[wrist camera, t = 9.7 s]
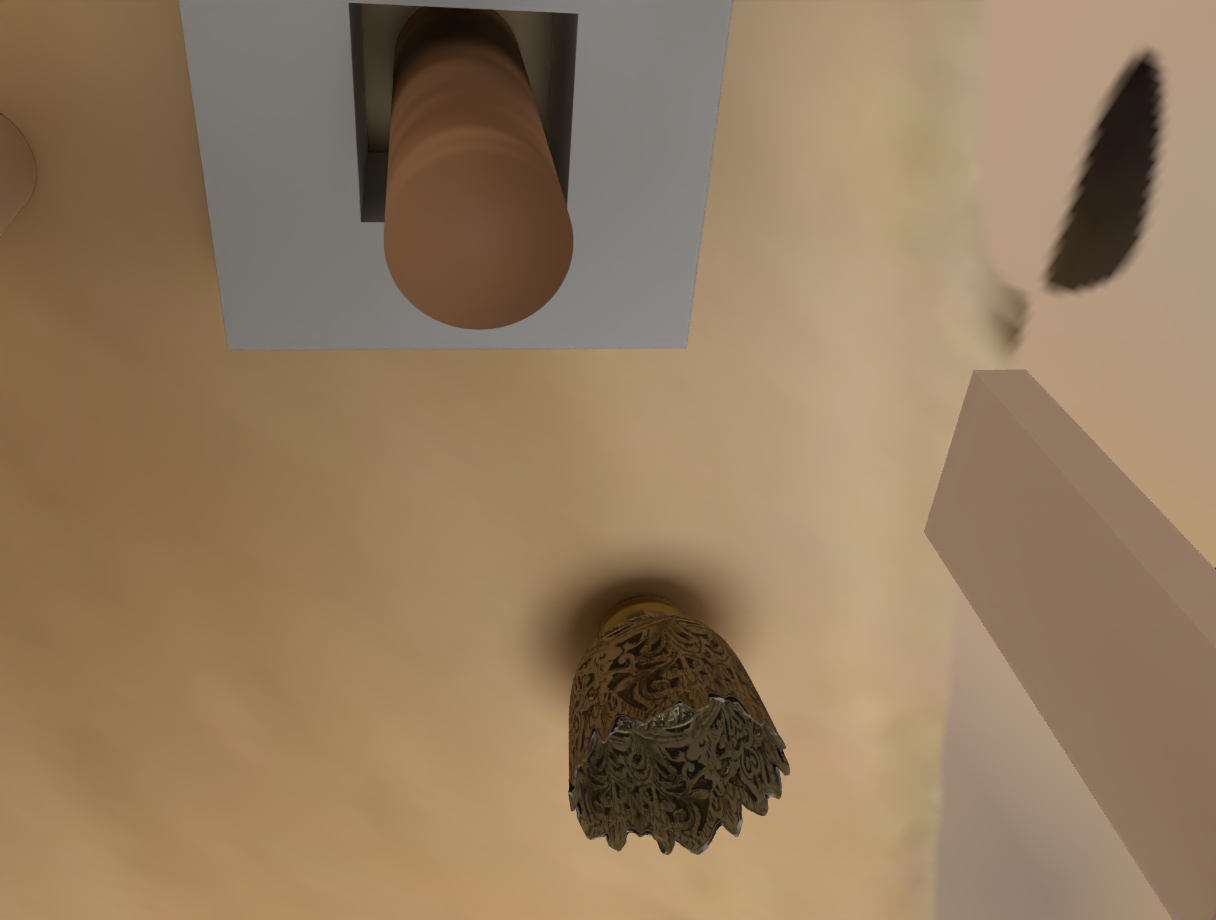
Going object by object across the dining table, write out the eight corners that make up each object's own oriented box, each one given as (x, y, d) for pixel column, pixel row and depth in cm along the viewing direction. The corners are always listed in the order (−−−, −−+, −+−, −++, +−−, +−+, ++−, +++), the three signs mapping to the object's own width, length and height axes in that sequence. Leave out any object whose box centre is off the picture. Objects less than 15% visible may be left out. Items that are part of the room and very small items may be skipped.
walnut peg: (396, 125, 30) (386, 329, 20) (392, -6, 28) (379, 150, 18) (519, 129, 30) (568, 330, 21) (523, 1, 28) (579, 156, 19)
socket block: (251, 266, 31) (228, 349, 27) (194, -216, 25) (150, -200, 21) (654, 270, 33) (686, 348, 29) (702, -177, 27) (753, -155, 23)
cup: (517, 670, 43) (535, 843, 36) (590, 530, 39) (625, 695, 33) (683, 703, 45) (727, 871, 39) (766, 575, 42) (830, 736, 35)
